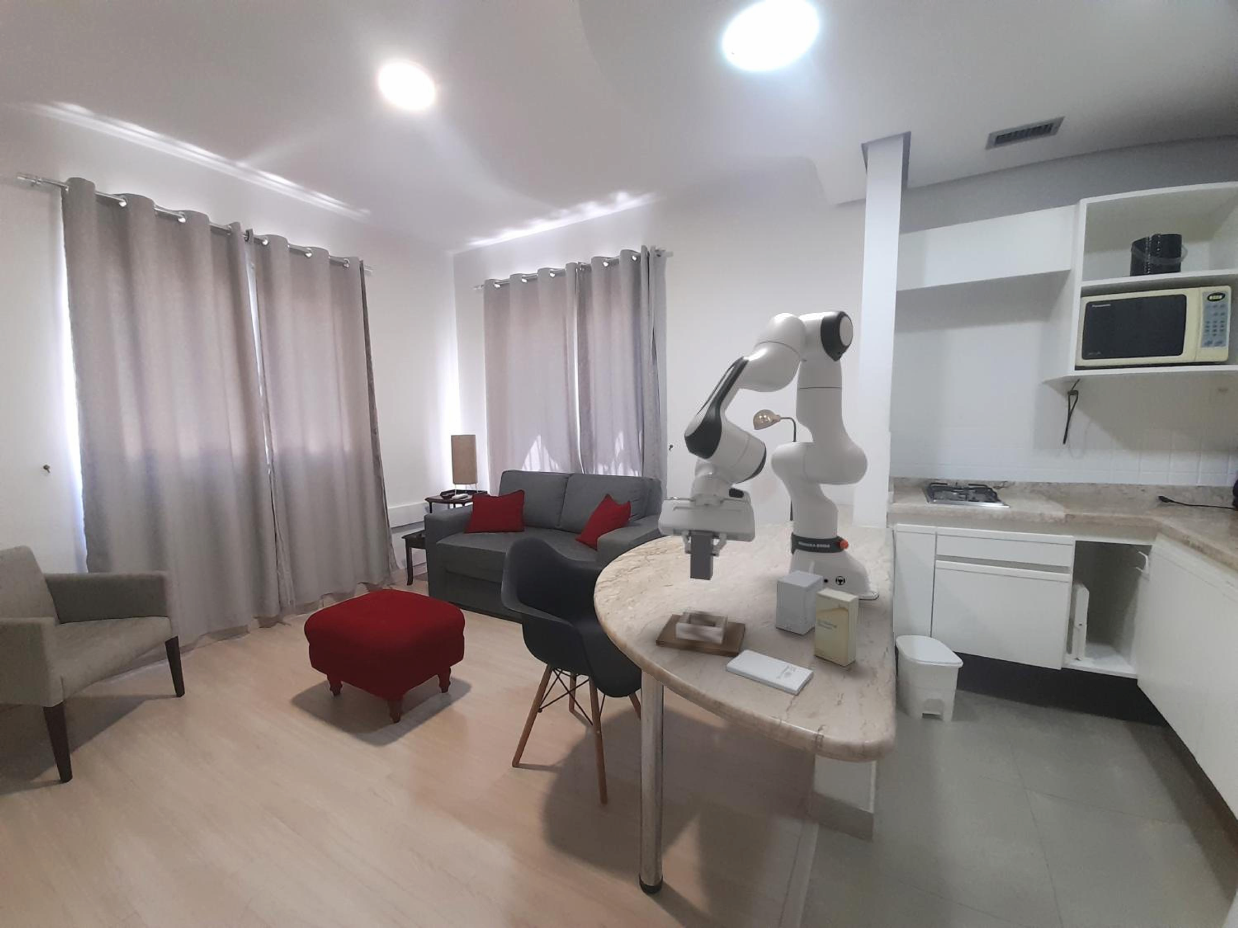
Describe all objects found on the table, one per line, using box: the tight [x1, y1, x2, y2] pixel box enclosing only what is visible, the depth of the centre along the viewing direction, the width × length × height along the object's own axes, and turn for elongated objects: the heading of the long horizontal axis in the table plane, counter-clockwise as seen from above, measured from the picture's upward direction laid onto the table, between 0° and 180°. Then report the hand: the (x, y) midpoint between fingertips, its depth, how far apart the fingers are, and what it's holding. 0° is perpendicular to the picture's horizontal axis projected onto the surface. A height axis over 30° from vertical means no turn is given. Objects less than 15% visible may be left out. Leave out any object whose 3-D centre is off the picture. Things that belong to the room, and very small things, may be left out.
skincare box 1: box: [774, 570, 823, 636], centre depth 103 cm, size 10×6×10 cm, turn 137°
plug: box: [689, 531, 715, 581], centre depth 96 cm, size 4×4×9 cm
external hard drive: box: [725, 649, 814, 696], centre depth 83 cm, size 2×8×12 cm
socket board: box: [655, 608, 746, 658], centre depth 97 cm, size 16×14×4 cm
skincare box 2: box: [813, 588, 860, 667], centre depth 88 cm, size 6×4×12 cm
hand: (701, 553), depth 96 cm, fingers closed on plug, 4 cm apart
